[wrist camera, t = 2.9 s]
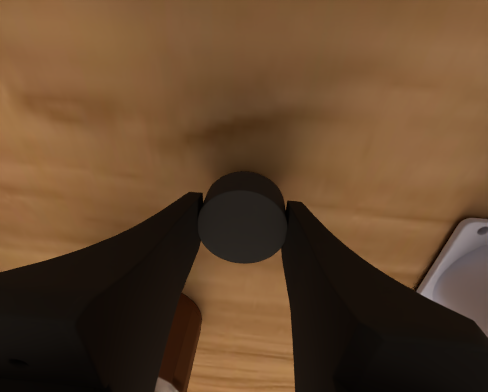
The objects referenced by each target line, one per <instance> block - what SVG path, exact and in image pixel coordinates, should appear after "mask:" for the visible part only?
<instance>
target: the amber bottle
mask: <svg viewBox="0 0 488 392" xmlns="http://www.w3.org/2000/svg"><path fill="white" fill-rule="evenodd" d="M201 323H202V318H201V313H200V311H199V309H198V307H197V306H196V305H195V304H194V303H193V302H192V300H190V299H189V298H188V297H187V296H185V295H183V294H182V293H181V295H180V298H179V301H178V304H177V308H176V311H175V315H174V318H173V322H172V325H171V329H170V333H169V337H168V340H167V344H166V348H165V351H164V355H163V359H162V363H161V367H160V371H159V375H158V379H157V383H156V387H155V392H187V388H188V383H189V379H190V375H191V370H192V366H193V361H194V357H195V353H196V348H197V344H198V339H199V335H200V331H201Z"/></svg>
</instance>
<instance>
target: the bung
mask: <svg viewBox="0 0 488 392" xmlns="http://www.w3.org/2000/svg"><path fill="white" fill-rule="evenodd" d="M197 225H198V234H199V237H200V239H201V241H202V243H203V244H204V245H205V247H206V248H207V249H208V250H209V251H210V252H212V253H213V254H214V255H216V256H218V257H220V258H222V259H224V260H227V261H230V262H234V263H255V262H259V261H262V260H265V259H267V258H269V257H271V256H272V255H274V254H275V253H276V252H277V251H278V250H279V249H280V248H281V247H282V246H283V244H284V242H285V239H286V234H287V228H288V222H287V216H286V210H285V204H284V199H283V196H282V193H281V192H280V190H279V189H278V187H277V186H276V185H275V184H274V183H273V182H272V181H271V180H269V179H268V178H266V177H264V176H262V175H260V174H257V173H253V172H244V171H241V172H234V173H230V174H227V175H225V176H223V177H221V178H220V179H218V180H217V181H216V182H215V183H214V184H213V185H212V186H211V187H210V189H209V191H208V193H207V195H206V198H205V200H204V202H203V205H202V207H201V210H200V212H199V215H198V219H197Z"/></svg>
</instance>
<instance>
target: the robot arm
mask: <svg viewBox="0 0 488 392" xmlns="http://www.w3.org/2000/svg"><path fill="white" fill-rule="evenodd" d="M202 205H203V193H195V192H188V193H187V194H185V195H184V196H182V197H181V198H179V199H178V200H177V201H175V202H174V203H172V204H171V205H169V206H168V207H166V208H165V209H163V210H162V211H160V212H159V213H157V214H155V215H154V216H152V217H150V218H149V219H147V220H145V221H144V222H142V223H140V224H138V225H136V226H134V227H133V228H131V229H129V230H126V231H124V232H122V233H120V234H118V235H116V236H114V237H111V238H109V239H106V240H104V241H101V242H99V243H96V244H94V245H91V246H89V247H86V248H83V249H80V250H78V251H75V252H72V253H69V254H65V255H62V256H59V257H56V258H53V259H49V260H46V261H42V262H39V263H35V264H31V265H27V266H23V267H19V268H15V269H12V270H8V271H4V272H0V392H155V387H156V383H157V379H158V375H159V371H160V367H161V363H162V359H163V355H164V351H165V348H166V344H167V340H168V337H169V333H170V329H171V325H172V322H173V318H174V315H175V311H176V308H177V304H178V301H179V298H180V295H181V292H182V290H183V287H184V285H185V282H186V280H187V277H188V275H189V272H190V270H191V267H192V265H193V262H194V260H195V257H196V255H197V252H198V250H199V246H200V242H201V239H200V237H199V234H198V225H197V219H198V215H199V212H200V210H201V207H202ZM286 216H287V222H288V228H287V234H286V239H285V242H284V244H283V246H282V247H281V252H282V261H283V267H284V273H285V279H286V285H287V291H288V296H289V302H290V310H291V323H292V338H293V355H294V376H295V392H488V219H481V218H468V219H465V220H463V221H461V222H460V223H459V224H458V226H457V227H456V229H455V230H454V232H453V234H452V235H451V237H450V238H449V240H448V242H447V243H446V245H445V246H444V248H443V249H442V251H441V253H440V254H439V256H438V257H437V259H436V261H435V262H434V264H433V265H432V267H431V268H430V270H429V272H428V273H427V275H426V276H425V278H424V280H423V281H422V283H421V284H420V286H419V287H418V289H417V291H416V292H415V291H414V290H412V289H410V288H408V287H406V286H405V285H403V284H401V283H399V282H398V281H396V280H394V279H393V278H391V277H389V276H388V275H386V274H385V273H383V272H382V271H380V270H378V269H377V268H375V267H374V266H372V265H371V264H369V263H368V262H367V261H365V260H364V259H362V258H361V257H360V256H358V255H357V254H356V253H354V252H353V251H352V250H350V249H349V248H348V247H347V246H346V245H344V244H343V243H342V242H341V241H340V240H339V239H337V238H336V237H335V236H334V235H333V234H332V233H331V232H330V231H329V230H328V229H327V228H326V227H325V226H324V225H323V224H322V223H321V222H320V221H319V220H318V219H317V218H316V217H315V216H314V215H313V214H312V213H311V212H310V211H309V209H308V208H307V207H306V206H305V205H304V204H303V203H302V202H297V201H287V206H286Z"/></svg>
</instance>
